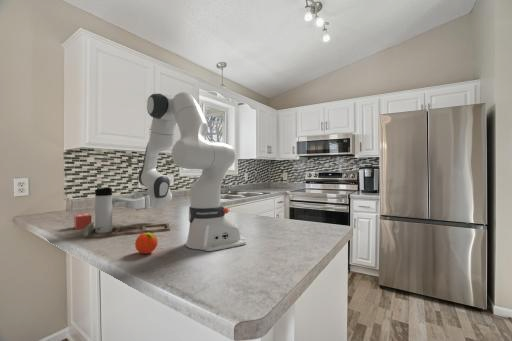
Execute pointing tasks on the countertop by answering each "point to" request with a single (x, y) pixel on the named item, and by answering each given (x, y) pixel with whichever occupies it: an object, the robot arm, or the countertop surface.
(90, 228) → the wooden ladder frame
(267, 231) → the countertop surface
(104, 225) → the travel mug
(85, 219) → the red die
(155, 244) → the clementine
